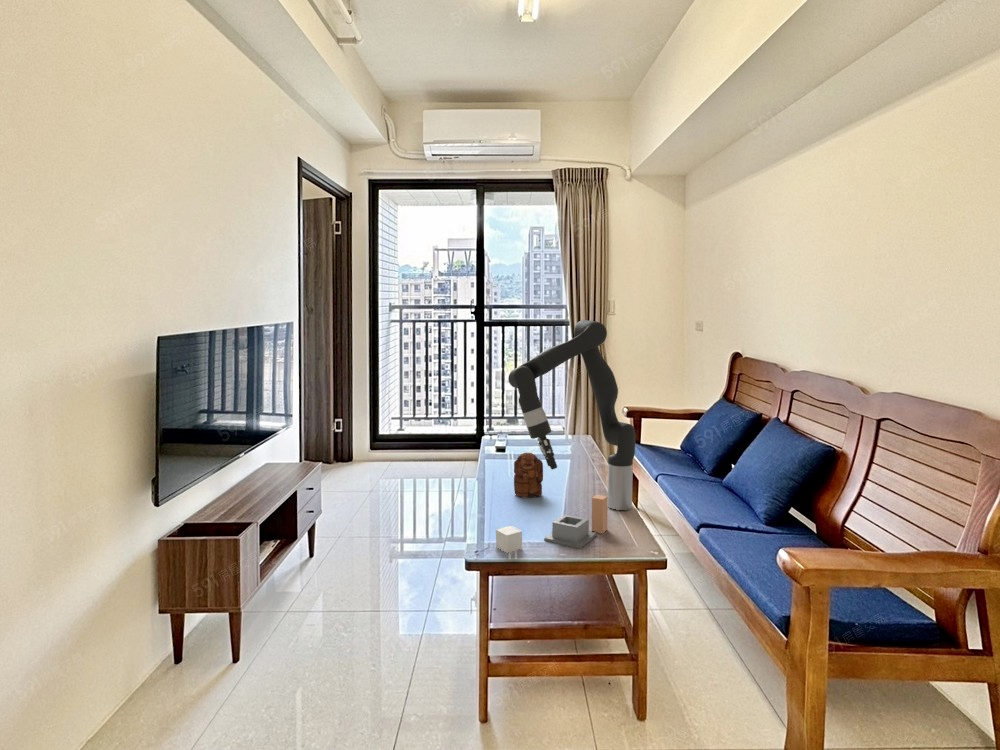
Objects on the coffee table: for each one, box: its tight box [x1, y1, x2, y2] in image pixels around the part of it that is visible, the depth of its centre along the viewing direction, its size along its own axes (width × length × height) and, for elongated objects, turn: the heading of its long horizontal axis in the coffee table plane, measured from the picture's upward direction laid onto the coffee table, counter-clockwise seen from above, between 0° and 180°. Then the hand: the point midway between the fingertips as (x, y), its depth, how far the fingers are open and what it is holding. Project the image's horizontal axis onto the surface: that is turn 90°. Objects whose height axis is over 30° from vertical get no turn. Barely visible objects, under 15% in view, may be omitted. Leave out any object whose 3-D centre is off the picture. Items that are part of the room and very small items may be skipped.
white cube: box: [495, 525, 523, 554], centre depth 183 cm, size 6×6×6 cm
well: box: [543, 513, 598, 550], centre depth 191 cm, size 13×13×6 cm
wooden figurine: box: [513, 452, 544, 498], centre depth 237 cm, size 12×6×18 cm, turn 96°
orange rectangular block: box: [591, 494, 608, 534], centre depth 197 cm, size 4×4×12 cm
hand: (552, 467), depth 196 cm, fingers open, 8 cm apart
